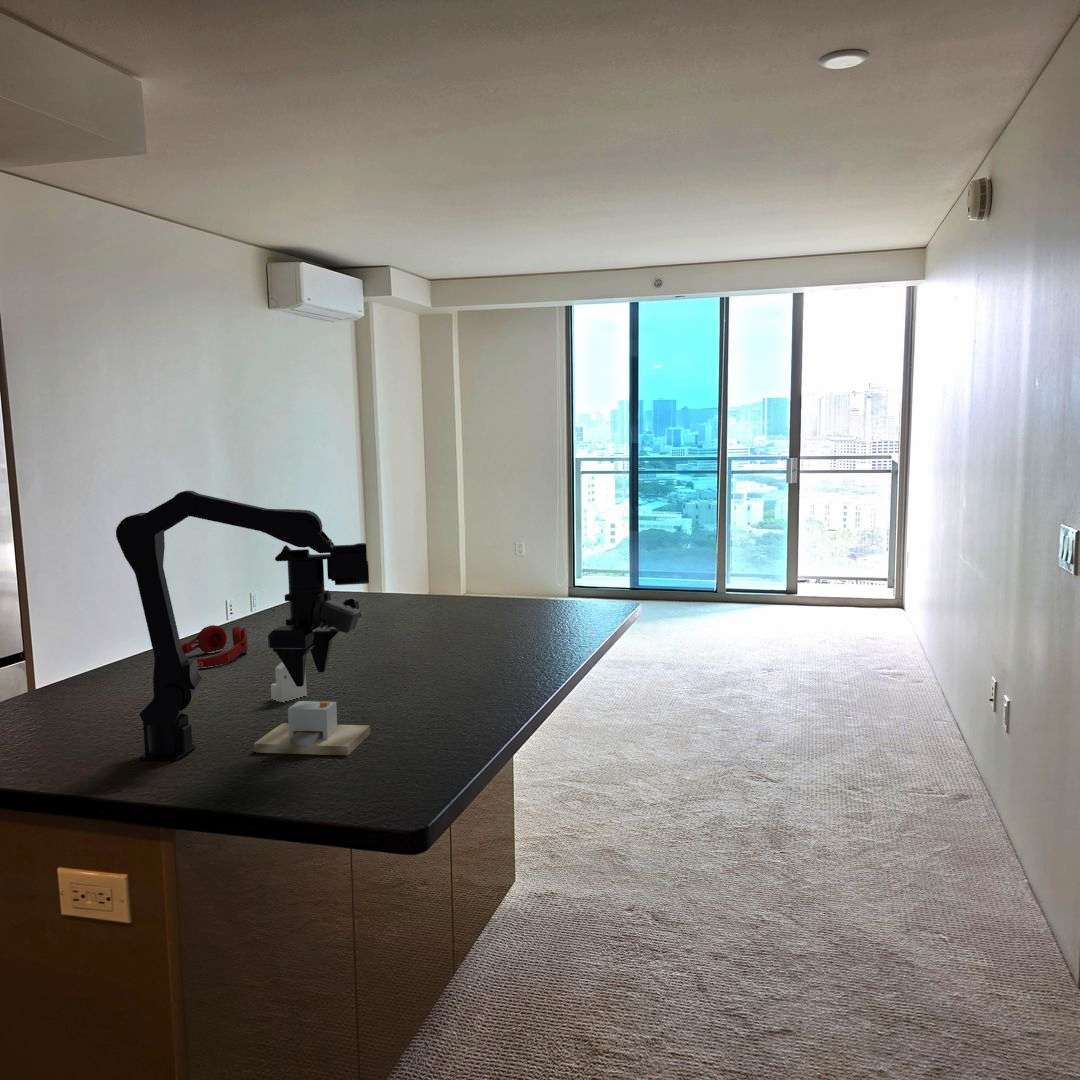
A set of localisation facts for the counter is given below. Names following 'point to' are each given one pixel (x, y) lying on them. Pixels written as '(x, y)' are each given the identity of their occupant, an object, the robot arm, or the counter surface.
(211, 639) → the headphones
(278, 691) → the white angled block
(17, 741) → the counter surface
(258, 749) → the board
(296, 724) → the block
